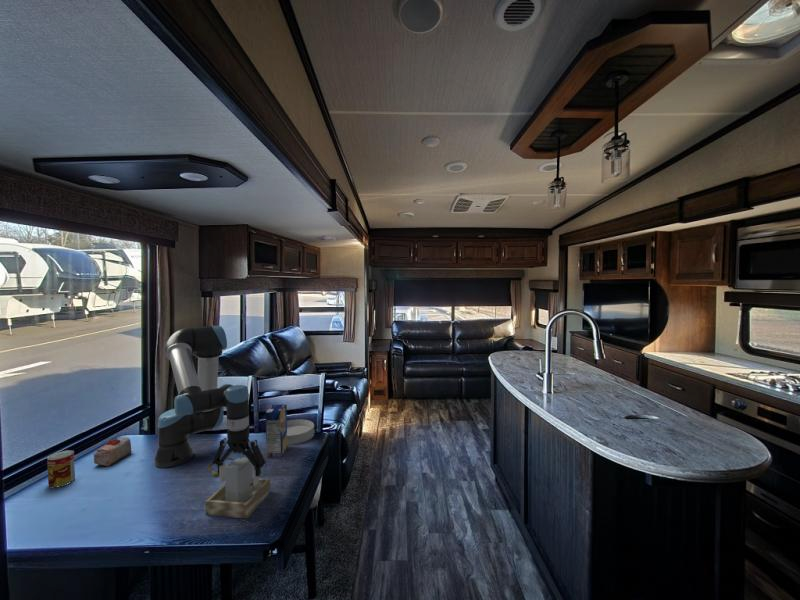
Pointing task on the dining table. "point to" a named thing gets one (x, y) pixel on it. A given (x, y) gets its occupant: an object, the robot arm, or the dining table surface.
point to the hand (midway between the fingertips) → (239, 482)
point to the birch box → (237, 509)
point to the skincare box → (238, 480)
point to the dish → (299, 431)
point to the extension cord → (216, 471)
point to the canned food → (61, 468)
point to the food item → (112, 451)
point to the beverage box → (276, 430)
